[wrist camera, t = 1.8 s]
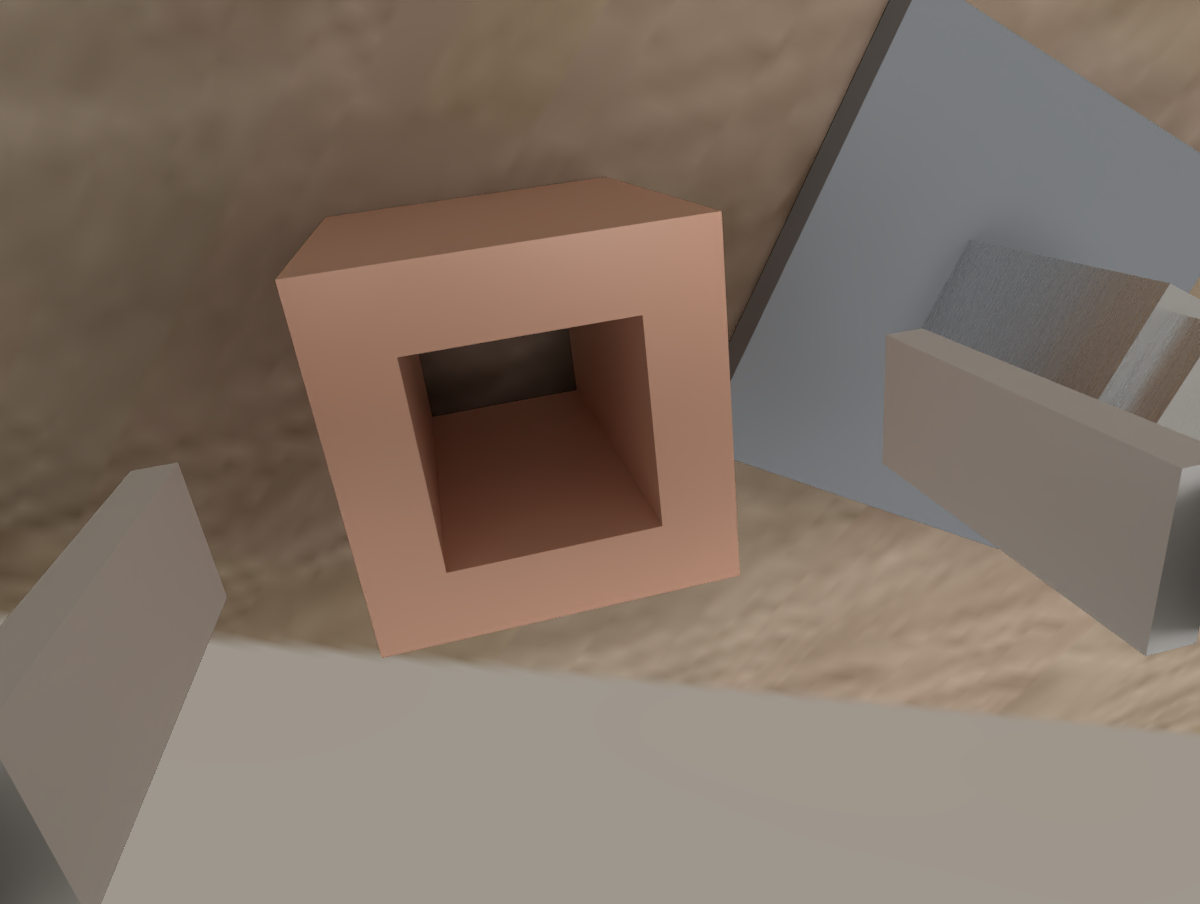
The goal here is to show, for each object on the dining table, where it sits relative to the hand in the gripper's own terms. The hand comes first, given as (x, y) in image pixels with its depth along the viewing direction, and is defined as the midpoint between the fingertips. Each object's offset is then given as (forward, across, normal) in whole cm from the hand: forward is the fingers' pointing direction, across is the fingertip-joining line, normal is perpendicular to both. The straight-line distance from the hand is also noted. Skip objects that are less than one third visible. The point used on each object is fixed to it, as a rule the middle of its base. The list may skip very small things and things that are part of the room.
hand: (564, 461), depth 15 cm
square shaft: (+8, +15, -2) cm, 17 cm away
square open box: (+9, 0, 0) cm, 9 cm away
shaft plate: (+10, +15, -2) cm, 18 cm away
